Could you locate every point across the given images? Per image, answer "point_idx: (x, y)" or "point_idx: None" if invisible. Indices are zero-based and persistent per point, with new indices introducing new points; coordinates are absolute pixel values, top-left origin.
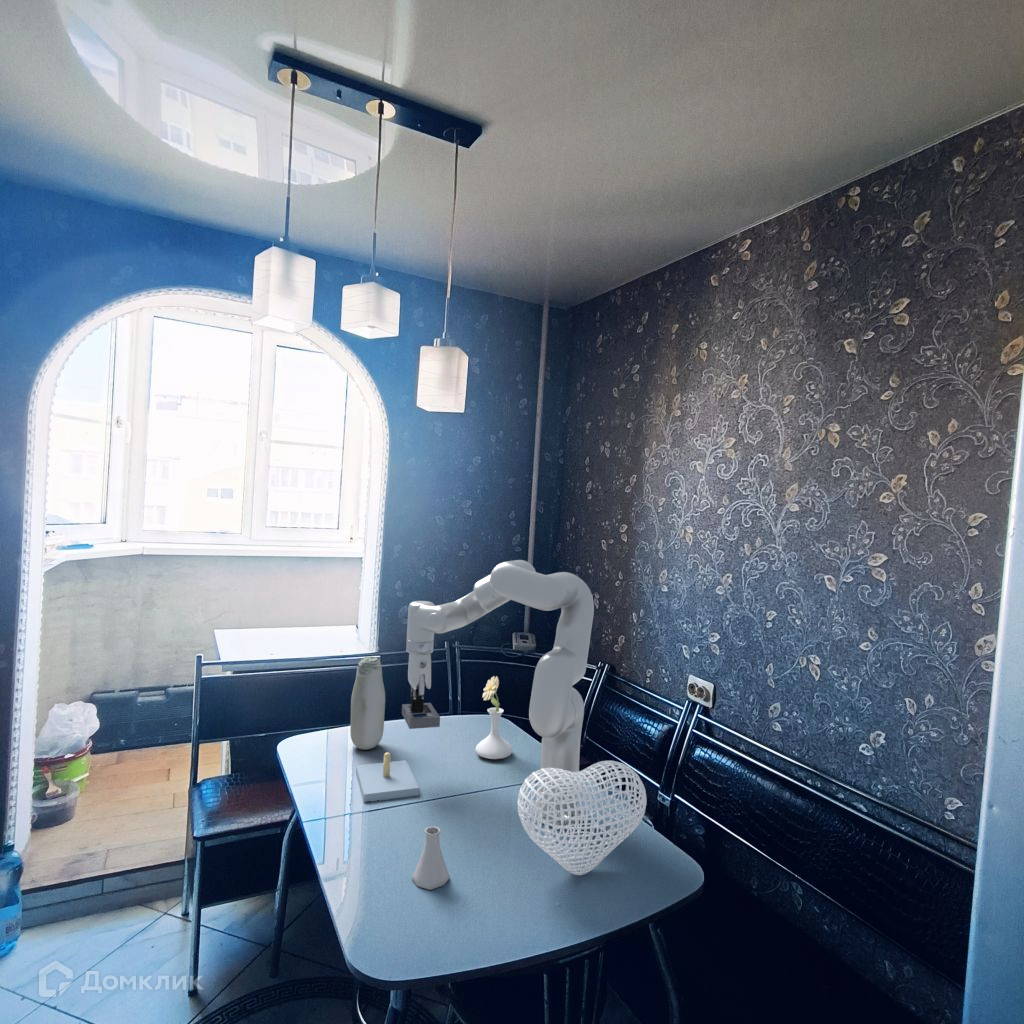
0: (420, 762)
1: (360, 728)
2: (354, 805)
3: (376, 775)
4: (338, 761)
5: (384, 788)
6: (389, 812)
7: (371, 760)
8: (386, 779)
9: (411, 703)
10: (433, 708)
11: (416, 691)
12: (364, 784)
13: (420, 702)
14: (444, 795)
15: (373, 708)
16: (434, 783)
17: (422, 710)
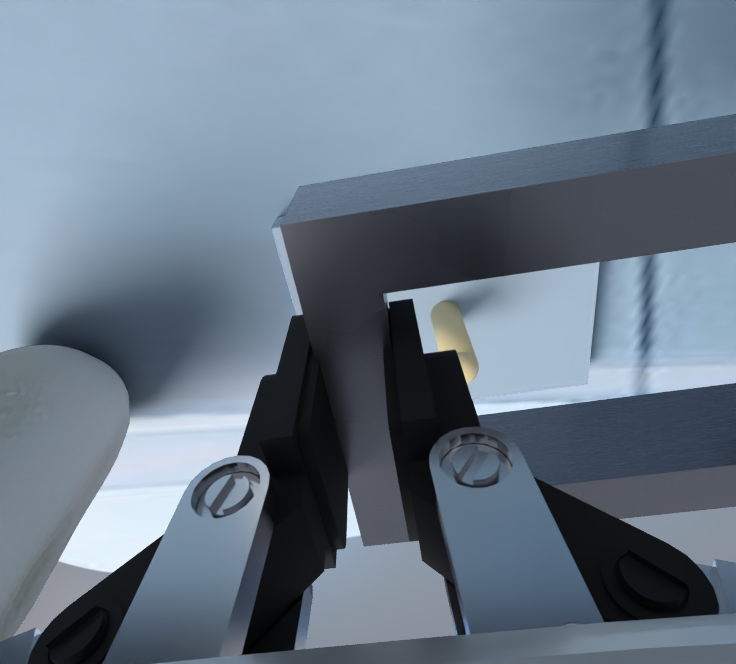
0: (213, 138)
1: (98, 478)
2: (586, 390)
3: (429, 349)
4: (230, 451)
5: (561, 319)
6: (689, 283)
7: (210, 355)
8: (478, 313)
9: (345, 476)
10: (605, 188)
11: (262, 584)
12: (503, 385)
13: (477, 423)
14: (639, 17)
15: (14, 531)
16: (482, 69)
17: (413, 312)
